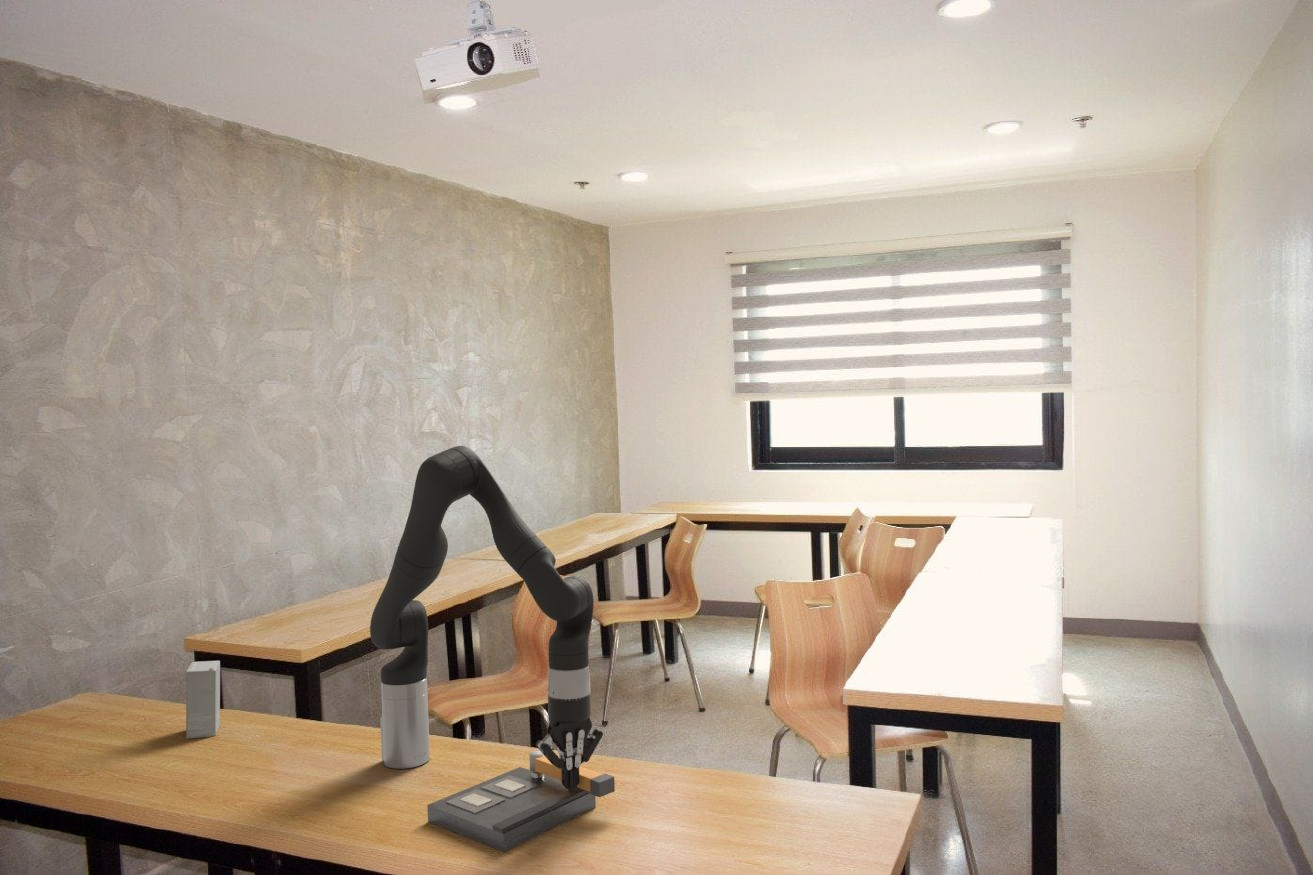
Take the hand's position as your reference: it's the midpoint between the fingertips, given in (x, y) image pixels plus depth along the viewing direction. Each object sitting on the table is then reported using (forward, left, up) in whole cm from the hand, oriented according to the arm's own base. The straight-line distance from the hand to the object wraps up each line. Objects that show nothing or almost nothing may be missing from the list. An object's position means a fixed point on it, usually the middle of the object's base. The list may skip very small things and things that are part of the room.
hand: (570, 787), depth 172 cm
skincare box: (-102, -17, -5) cm, 104 cm away
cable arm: (-4, +4, -1) cm, 6 cm away
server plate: (-9, -6, -5) cm, 12 cm away
